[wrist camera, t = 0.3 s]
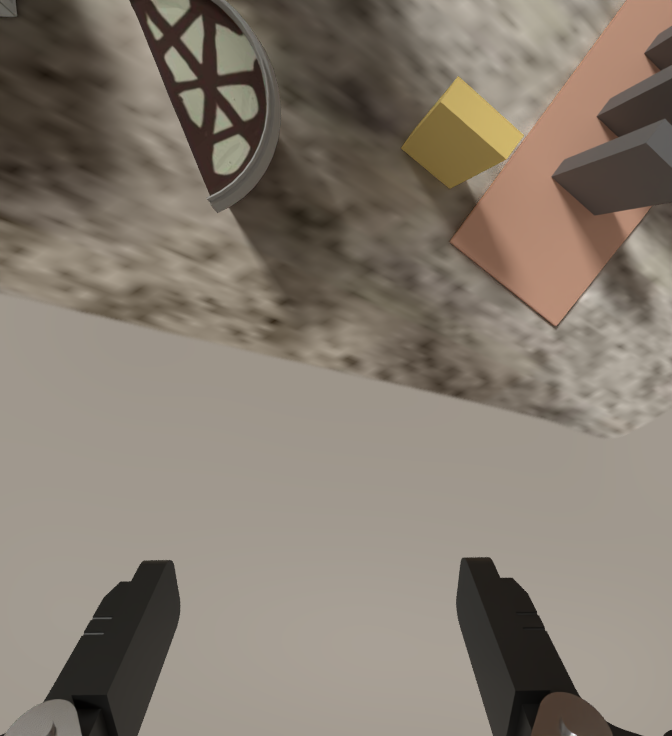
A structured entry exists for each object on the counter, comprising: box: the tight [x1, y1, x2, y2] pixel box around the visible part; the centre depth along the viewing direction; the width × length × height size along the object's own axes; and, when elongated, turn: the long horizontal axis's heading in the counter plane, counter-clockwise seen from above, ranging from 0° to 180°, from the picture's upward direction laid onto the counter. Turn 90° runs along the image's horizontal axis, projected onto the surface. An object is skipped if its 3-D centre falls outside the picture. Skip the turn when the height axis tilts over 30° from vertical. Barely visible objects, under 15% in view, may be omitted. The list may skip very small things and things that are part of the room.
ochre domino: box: [401, 76, 524, 189], centre depth 30 cm, size 2×5×10 cm, turn 54°
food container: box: [130, 0, 281, 213], centre depth 28 cm, size 12×6×10 cm, turn 20°
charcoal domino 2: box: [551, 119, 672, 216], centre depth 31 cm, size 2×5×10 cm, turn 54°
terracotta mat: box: [449, 0, 672, 326], centre depth 35 cm, size 30×12×1 cm, turn 144°
